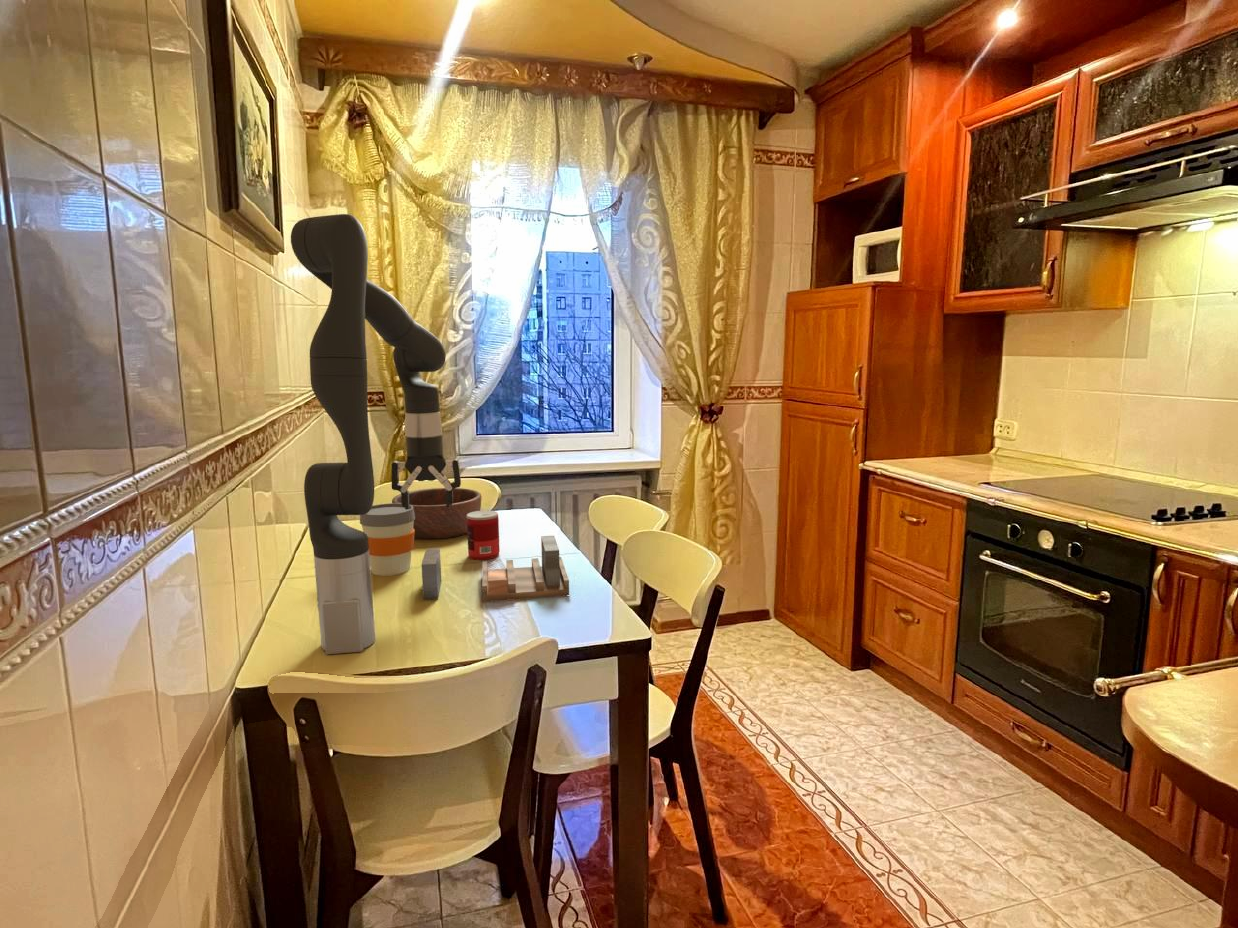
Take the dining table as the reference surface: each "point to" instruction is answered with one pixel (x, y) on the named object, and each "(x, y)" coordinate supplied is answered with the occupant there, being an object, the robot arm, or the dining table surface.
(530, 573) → the rack
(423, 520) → the wooden bowl
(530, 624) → the dining table surface
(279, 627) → the dining table surface
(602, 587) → the dining table surface
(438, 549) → the panel
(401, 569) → the reusable coffee cup
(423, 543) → the dining table surface
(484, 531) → the canned food
